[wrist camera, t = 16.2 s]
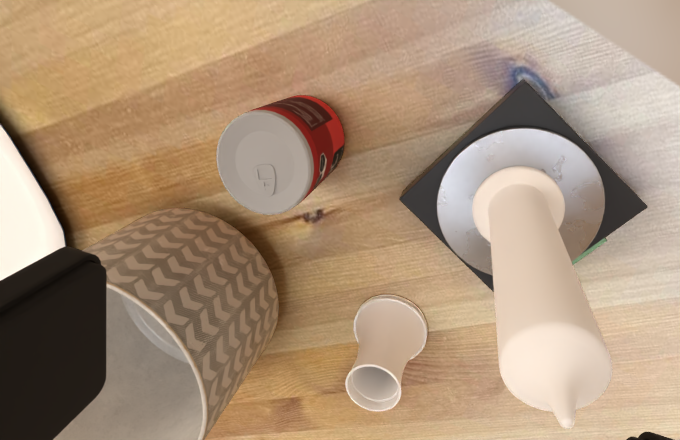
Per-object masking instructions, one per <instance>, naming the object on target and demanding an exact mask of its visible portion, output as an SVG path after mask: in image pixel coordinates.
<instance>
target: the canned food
mask: <svg viewBox="0 0 680 440" xmlns="http://www.w3.org/2000/svg"><path fill="white" fill-rule="evenodd" d="M343 151H344V133H343V128H342V125H341V123H340V120H339V118H338V117H337V115H336V114H335V112H334V111H333V110H332V109H331V108H330V107H329V106H328V105H327V104H325V103H324V102H322V101H321V100H319V99H317V98H314V97H311V96H306V95H300V96H294V97H290V98H287V99H284V100H281V101H277V102H274V103H271V104H268V105H265V106H262V107H259V108H256V109H253V110H251V111H248V112H246V113H244V114H242V115H240V116H238V117H237V118H235V119H234V120H233V121H232V122H230V123H229V124H228V125H227V127H226V128H225V129H224V131H223V132H222V135H221V137H220V139H219V143H218V147H217V166H218V171H219V174H220V177H221V180H222V182H223V184H224V186H225V188H226V189H227V191H228V192H229V193H230V195H231V196H232V197H233V198H234V199H235V200H236V201H237V202H238V203H239V204H241V205H242V206H244V207H245V208H247V209H249V210H251V211H253V212H256V213H260V214H264V215H275V214H281V213H283V212H286V211H288V210H290V209H292V208H294V207H295V206H296V205H298V204H299V203H300V202H301V201H302V200H304V199H305V198H306V197H307V196H308V195H309V194H310V193H311V192H312V191H313V190H314V189H315V188H316V187H317V186H318V185H319V184H320V183H321V182H322V181H323V180H324V179H325V178H326V177H327V176H328V175H329V174H330V173H331V172H332V171H333V170H334V169H335V168H336V167H337V165H338V164H339V162H340V160H341V157H342V155H343Z"/></svg>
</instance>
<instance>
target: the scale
mask: <svg viewBox="0 0 680 440" xmlns="http://www.w3.org/2000/svg"><path fill="white" fill-rule="evenodd" d="M513 166H526V167H531V168H535V169H538V170H540V171H542V172H544V173H546V174H547V175H549V176H550V177H551V178H552V179H553V180H554V181H555V182H556V183H557V185H558V186H559V188H560V190H561V192H562V194H563V197H564V202H565V213H564V218H563V221H562V223H561V225H560V227H559V229H558V231H559V233H560V235H561V238H562V240H563V243H564V245H565V247H566V250H567V252H568V255H569V257H570V259H571V262H572V264H575V263H576V262H578V261H579V260H580V259H582V258H583V257H585V256H586V255H588V254H589V253H590V252H592V251H593V250H595V249H596V248H597V247H599V246H600V245H602V244H603V243H604V242H606V241H607V240H606V238H605V237H606V236H608V235H609V234H610V233H612V232H613V231H615V230H616V229H618V228H619V227H620V226H622V225H623V224H625V223H626V222H627V221H629V220H630V219H632V218H633V217H634V216H636V215H637V214H639V213H640V212H641V211H643V210H644V209H646V208H647V205H646V204H645V203H644V202H643V201H642V200H641V199H640V198H639V197H638V196H637V195H636V194H635V193H634V192H633V191H632V190H631V189H630V188H629V187H628V186H627V185H626V184H625V183H624V182H623V181H622V180H621V179H620V178H619V177H618V175H617V174H616V173H615V172H614V171H613V170H612V169H611V168H610V167H609V166H608V165H607V164H606V163H605V162H604V161H603V160H602V159H601V158H600V157H599V156H598V155H597V154H596V153H595V152H594V151H593V150H592V149H591V148H590V147H589V146H588V145H587V144H586V143H585V142H584V141H583V140H582V139H581V138H580V137H579V136H578V135H577V134H576V132H575V131H574V130H573V129H572V128H571V127H570V126H569V125H568V124H567V123H566V122H565V121H564V120H563V119H562V118H561V117H560V116H559V115H558V114H557V113H556V112H555V111H554V110H553V109H552V108H551V107H550V106H549V105H548V104H547V103H546V102H545V101H544V100H543V99H542V98H541V97H540V96H539V95H538V94H537V93H536V92H535V90H534V89H533V88H532V87H531V86H530V85H529V84H528V83H527V82H526V81H525V80H524V79H522V80H521V81H520V82H519V83H518V84H517V85H516V86H515V87H514V88H513V89H511V90H510V91H509V92H508V93H507V94H506V95H505V96H504V97H503V98H502V99H501V100H500V101H499V102H498V103H497V104H495V105H494V106H493V107H492V108H491V109H490V110H489V111H488V112H487V113H486V114H485V115H484V116H483V117H482V118H481V119H479V120H478V121H477V122H476V123H475V124H474V125H473V126H472V127H471V128H470V129H469V130H468V131H467V132H466V133H465V134H463V135H462V136H461V137H460V138H459V139H458V140H457V141H456V142H455V143H454V144H453V145H452V146H451V147H450V148H449V149H447V150H446V151H445V152H444V153H443V154H442V155H441V156H440V157H439V158H438V159H437V160H436V161H435V162H434V163H433V164H431V165H430V166H429V167H428V168H427V169H426V170H425V171H424V172H423V173H422V174H421V175H420V176H419V177H418V178H417V179H416V180H414V181H413V182H412V183H411V184H410V185H409V186H408V187H407V188H406V189H405V190H404V191H403V192H402V194H401V197H400V199H399V200H400V201H401V202H402V203H403V204H404V205H405V206H406V207H407V208H408V209H409V210H410V211H412V212H413V213H414V214H415V215H416V216H417V217H418V218H419V219H420V220H421V221H422V222H423V223H424V224H425V225H426V226H427V227H428V228H429V229H430V230H431V231H432V232H433V233H434V234H435V235H436V236H437V237H438V238H439V239H440V240H441V241H442V242H443V243H444V244H445V245H446V246H447V247H448V248H449V249H450V250H451V251H452V252H453V253H454V254H455V255H456V256H457V257H458V258H459V259H461V260H462V261H463V262H464V263H465V264H466V265H467V266H468V267H469V268H470V269H471V270H472V271H473V272H474V273H475V274H476V275H477V276H478V277H479V278H480V279H481V280H482V281H483V282H484V283H485V284H486V285H487V286H488V287H489V288H490V289H491V290H492V291H493V292H494V286H493V271H492V256H491V243H490V242H489V241H487V240H486V239H485V238H484V237H483V236H482V235H481V234H480V232H479V231H478V229H477V227H476V225H475V223H474V220H473V215H472V204H473V199H474V196H475V193H476V191H477V189H478V188H479V186H480V185H481V184H482V182H483V181H484V180H485V179H486V178H488V177H489V176H490V175H492V174H493V173H495V172H497V171H499V170H501V169H504V168H508V167H513Z"/></svg>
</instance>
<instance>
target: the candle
mask: <svg viewBox="0 0 680 440" xmlns="http://www.w3.org/2000/svg"><path fill="white" fill-rule="evenodd" d="M564 213H565V202H564V197H563V194H562V192H561V190H560V188H559V186H558V185H557V183H556V182H555V181H554V180H553V179H552V178H551V177H550V176H549V175H547V174H546V173H544V172H542V171H540V170H538V169H535V168H531V167H526V166H513V167H508V168H504V169H501V170H499V171H497V172H495V173H493V174H492V175H490V176H489V177H488V178H486V179H485V180H484V181H483V182H482V184H481V185H480V186H479V188H478V189H477V191H476V193H475V196H474V199H473V204H472V215H473V220H474V223H475V225H476V227H477V229H478V231H479V232H480V234H481V235H482V236H483V237H484V238H485V239H486V240H487V241H489V242H490V243H491V256H492V271H493V286H494V300H495V315H496V330H497V344H498V359H499V370H500V374H501V377H502V379H503V381H504V383H505V385H506V386H507V388H508V389H509V391H510V392H511V393H512V394H513V395H514V396H515V397H517V398H518V399H519V400H521V401H522V402H524V403H526V404H528V405H530V406H532V407H534V408H537V409H540V410H544V411H550V412H553V413H554V415H555V417H556V418H557V420H558V422H559V424H560V425H561V426H562V427H563V428H566V429H570V428H572V427H573V426H574V424H575V414H576V410H577V409H580V408H583V407H585V406H587V405H589V404H591V403H593V402H594V401H595V400H597V399H598V398H599V397H600V396H601V395H602V394H603V393H604V392H605V390H606V389H607V387H608V385H609V383H610V381H611V377H612V360H611V356H610V353H609V351H608V348H607V346H606V343H605V341H604V339H603V336H602V334H601V331H600V329H599V327H598V324H597V322H596V319H595V317H594V315H593V312H592V310H591V307H590V305H589V303H588V300H587V298H586V295H585V293H584V291H583V288H582V286H581V283H580V281H579V279H578V276H577V274H576V271H575V269H574V267H573V264H572V262H571V259H570V257H569V255H568V252H567V250H566V247H565V245H564V243H563V240H562V238H561V235H560V233H559V231H558V229H559V227H560V225H561V223H562V221H563V218H564Z"/></svg>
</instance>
